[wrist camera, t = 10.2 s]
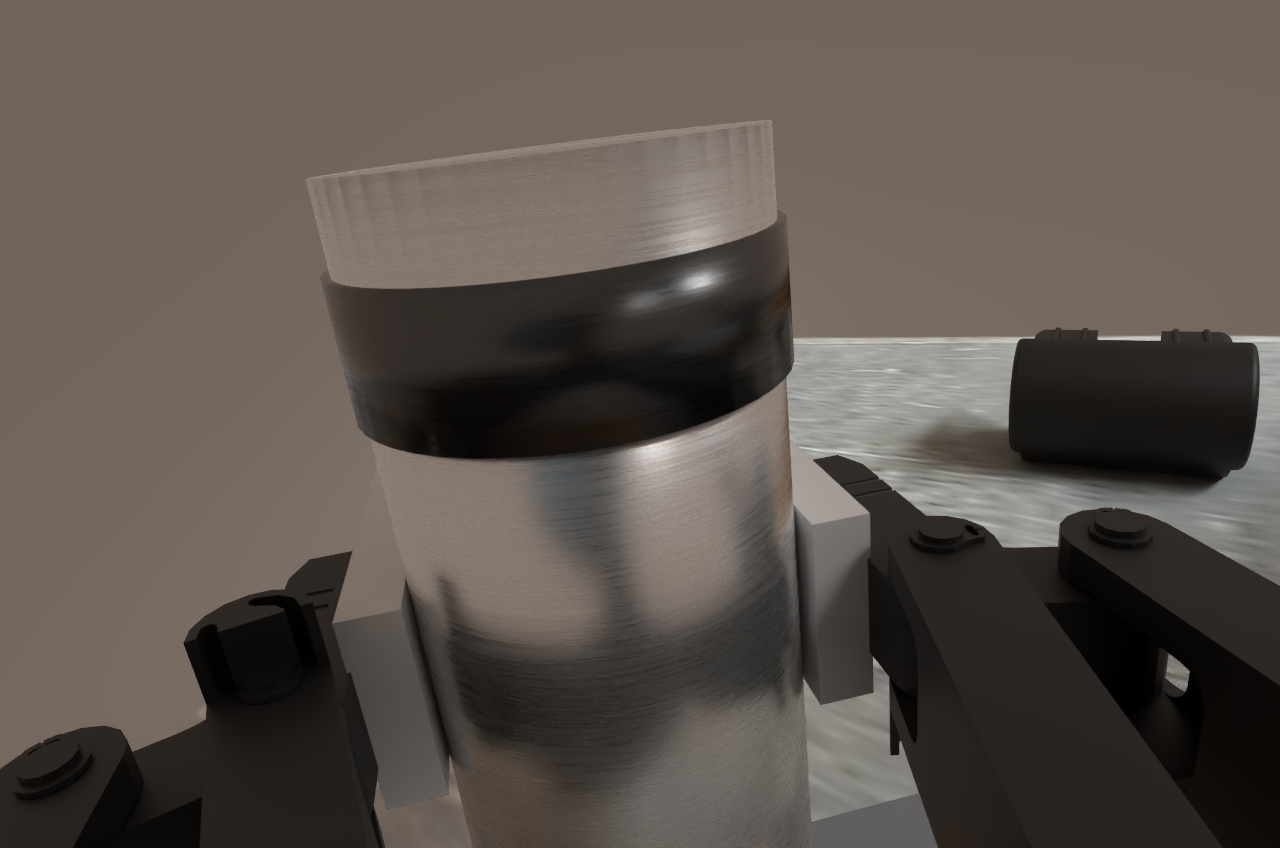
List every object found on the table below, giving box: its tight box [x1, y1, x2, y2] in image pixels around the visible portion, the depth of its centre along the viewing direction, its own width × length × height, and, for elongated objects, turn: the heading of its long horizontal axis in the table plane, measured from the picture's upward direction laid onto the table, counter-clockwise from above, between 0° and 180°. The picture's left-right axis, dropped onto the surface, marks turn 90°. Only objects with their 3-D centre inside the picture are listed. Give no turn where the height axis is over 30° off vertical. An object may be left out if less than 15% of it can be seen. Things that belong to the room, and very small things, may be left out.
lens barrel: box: [306, 120, 813, 848], centre depth 11 cm, size 5×5×14 cm
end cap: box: [1009, 328, 1260, 477], centre depth 41 cm, size 10×7×7 cm
